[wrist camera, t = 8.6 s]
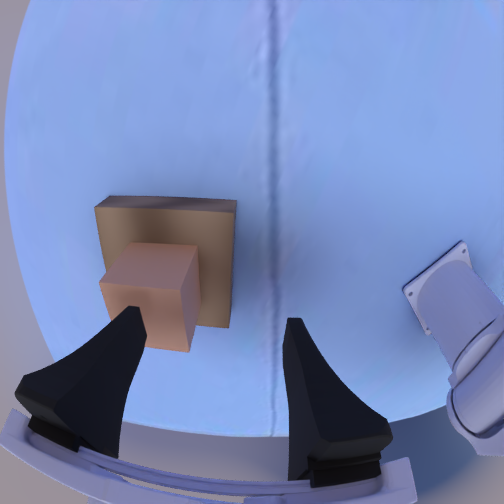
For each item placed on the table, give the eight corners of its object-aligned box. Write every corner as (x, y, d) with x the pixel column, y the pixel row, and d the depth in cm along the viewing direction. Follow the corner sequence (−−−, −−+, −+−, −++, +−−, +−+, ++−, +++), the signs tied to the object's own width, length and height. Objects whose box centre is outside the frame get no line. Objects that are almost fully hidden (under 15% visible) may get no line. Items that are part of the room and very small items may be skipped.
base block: (237, 197, 20) (233, 213, 17) (231, 304, 25) (229, 328, 22) (112, 193, 19) (94, 207, 17) (129, 294, 24) (117, 314, 22)
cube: (197, 245, 18) (180, 290, 14) (201, 303, 21) (189, 352, 16) (130, 242, 18) (98, 282, 14) (141, 297, 21) (119, 342, 16)
